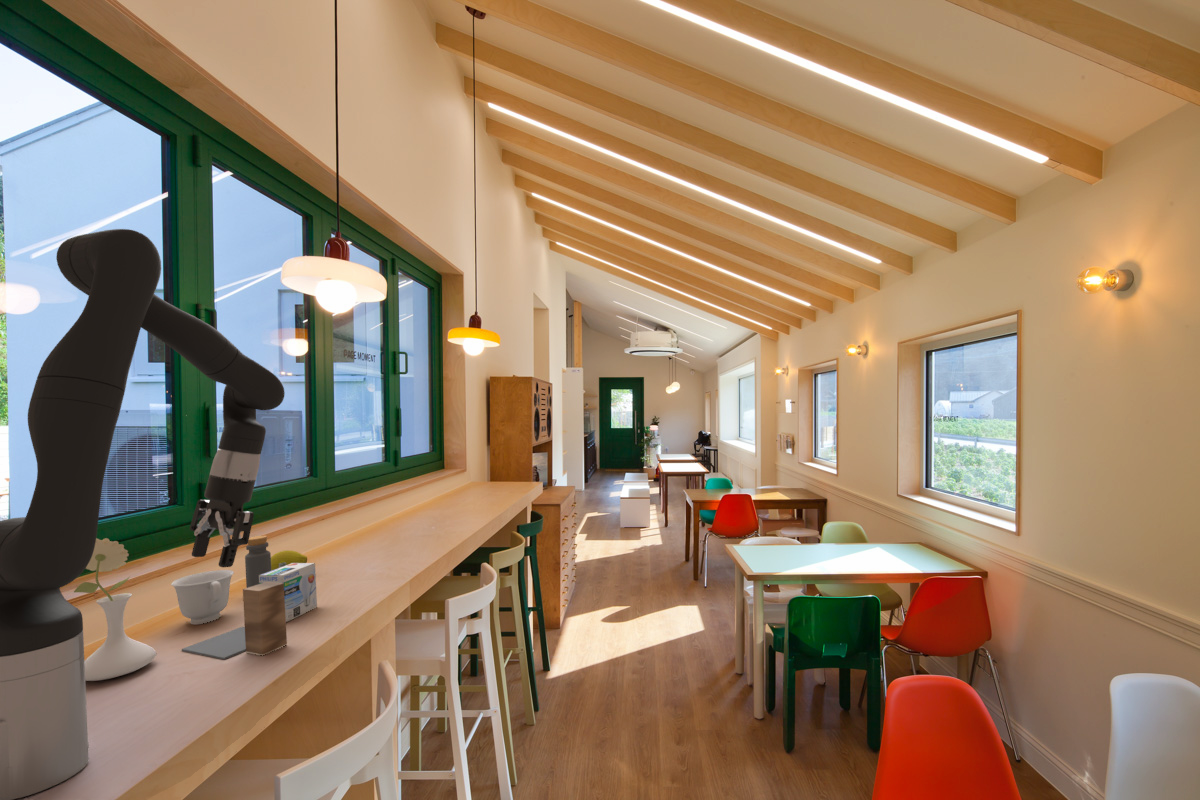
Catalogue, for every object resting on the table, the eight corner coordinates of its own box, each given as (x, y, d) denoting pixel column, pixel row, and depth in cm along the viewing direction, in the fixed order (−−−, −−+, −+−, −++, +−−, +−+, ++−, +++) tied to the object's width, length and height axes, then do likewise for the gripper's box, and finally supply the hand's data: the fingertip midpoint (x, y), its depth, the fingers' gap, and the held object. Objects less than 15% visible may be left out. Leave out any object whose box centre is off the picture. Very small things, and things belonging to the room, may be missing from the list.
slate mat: (283, 635, 116) (283, 633, 116) (224, 659, 106) (224, 657, 106) (242, 628, 122) (242, 626, 123) (181, 650, 112) (181, 648, 112)
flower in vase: (172, 657, 109) (166, 528, 109) (120, 686, 97) (113, 542, 98) (107, 661, 109) (101, 533, 110) (47, 690, 98) (41, 547, 98)
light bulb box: (285, 623, 124) (282, 575, 124) (259, 623, 125) (256, 575, 125) (318, 606, 134) (316, 561, 135) (294, 606, 136) (292, 562, 136)
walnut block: (262, 656, 106) (259, 591, 107) (246, 652, 108) (242, 589, 109) (287, 645, 111) (283, 583, 111) (270, 642, 113) (267, 581, 113)
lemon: (260, 583, 159) (259, 555, 159) (275, 575, 167) (274, 549, 167) (299, 580, 160) (297, 552, 160) (312, 573, 167) (310, 546, 168)
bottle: (248, 593, 150) (245, 537, 151) (273, 588, 153) (270, 533, 153) (245, 598, 145) (242, 541, 145) (271, 594, 147) (268, 537, 148)
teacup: (187, 636, 120) (185, 589, 120) (165, 624, 129) (163, 580, 129) (249, 617, 129) (247, 574, 130) (225, 607, 138) (223, 567, 139)
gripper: (191, 468, 106) (167, 554, 104) (236, 479, 100) (213, 572, 97) (230, 471, 112) (209, 552, 110) (276, 482, 106) (254, 568, 104)
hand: (211, 561), depth 104 cm, fingers open, 8 cm apart
